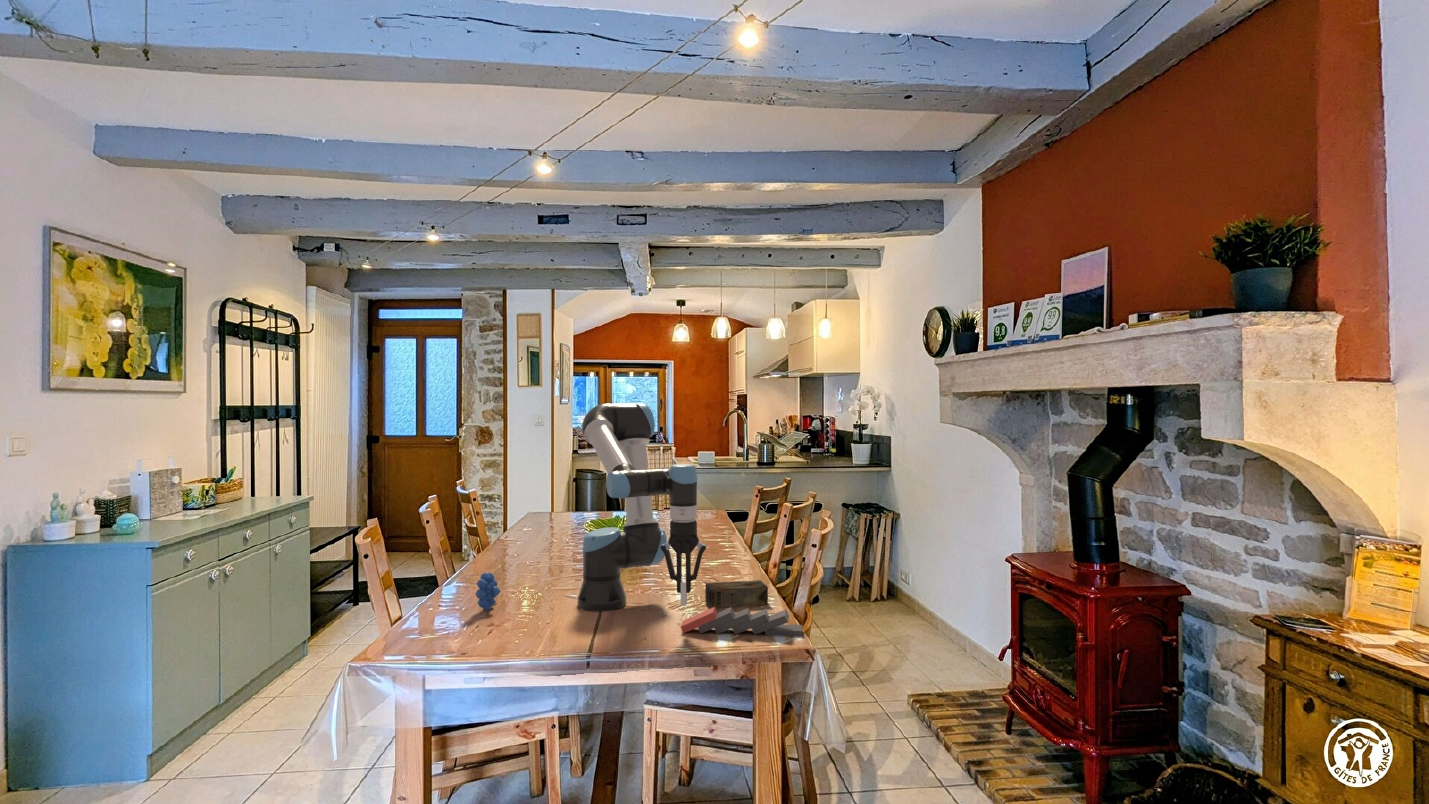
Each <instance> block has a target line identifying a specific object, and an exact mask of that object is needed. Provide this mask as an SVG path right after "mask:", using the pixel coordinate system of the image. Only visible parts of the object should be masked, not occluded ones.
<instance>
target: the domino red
mask: <svg viewBox="0 0 1429 804" xmlns="http://www.w3.org/2000/svg"><path fill="white" fill-rule="evenodd" d="M718 613H719V612H718V610H717V608H715V607H713V608H709V609H706V610H704V611H702V612H700V613H698V614H696V615H693V616H691V617H689V618H687V619H684V620H682V621H681V622H682V623H681V625H680V629H681V631H682V633H683V634H685V633H688V632H690V631H693V630H695V629H698V627H699V626H701V625H704V624H706V623H708V622H710V621H713V620H715V619H716V618H717V614H718Z"/></svg>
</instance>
